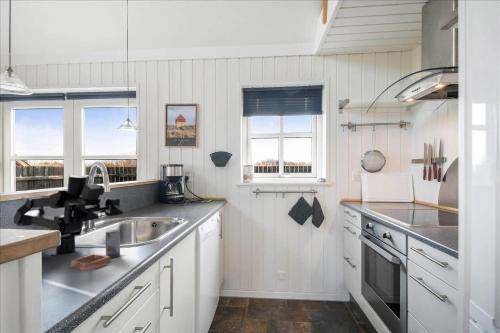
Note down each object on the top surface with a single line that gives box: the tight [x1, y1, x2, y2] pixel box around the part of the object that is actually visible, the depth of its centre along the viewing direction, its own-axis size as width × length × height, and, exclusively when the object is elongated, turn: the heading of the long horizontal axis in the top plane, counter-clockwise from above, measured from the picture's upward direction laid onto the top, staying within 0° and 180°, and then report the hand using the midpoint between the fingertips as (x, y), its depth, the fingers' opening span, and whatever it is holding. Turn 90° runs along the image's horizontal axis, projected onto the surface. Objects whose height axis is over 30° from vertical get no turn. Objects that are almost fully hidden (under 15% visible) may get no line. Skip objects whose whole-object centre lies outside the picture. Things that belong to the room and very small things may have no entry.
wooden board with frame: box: [69, 253, 126, 272], centre depth 86 cm, size 12×16×3 cm
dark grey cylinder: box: [105, 229, 121, 260], centre depth 91 cm, size 4×4×9 cm
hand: (110, 214), depth 87 cm, fingers open, 9 cm apart
